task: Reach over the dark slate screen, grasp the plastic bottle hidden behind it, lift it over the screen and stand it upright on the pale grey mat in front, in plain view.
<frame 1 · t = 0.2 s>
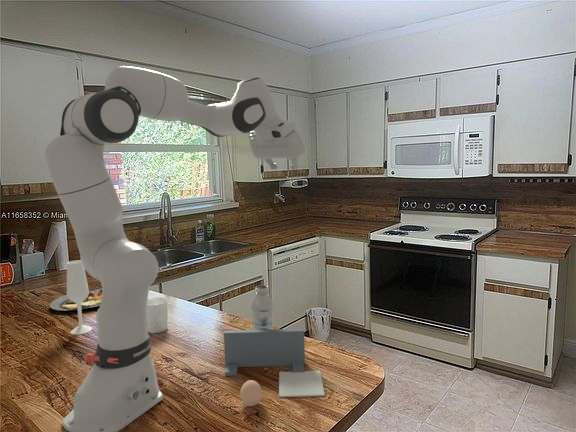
hand: (284, 168, 131), 54 cm above the worktop, tool tilted 30°, fingers open, 8 cm apart
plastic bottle: (263, 352, 121), on the worktop
slate screen: (265, 364, 113), on the worktop
white cup: (157, 329, 139), on the worktop
grey mat: (300, 384, 103), on the worktop
champagne flute: (81, 330, 139), on the worktop
egg: (251, 405, 95), on the worktop
food plate: (86, 303, 166), on the worktop
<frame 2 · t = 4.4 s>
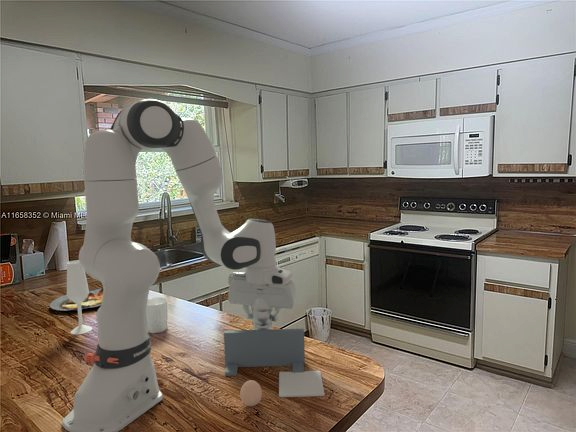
hand: (262, 319, 119), 10 cm above the worktop, tool pointing down, fingers closed on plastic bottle, 6 cm apart
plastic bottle: (263, 352, 121), on the worktop, touching gripper
everything else where it was.
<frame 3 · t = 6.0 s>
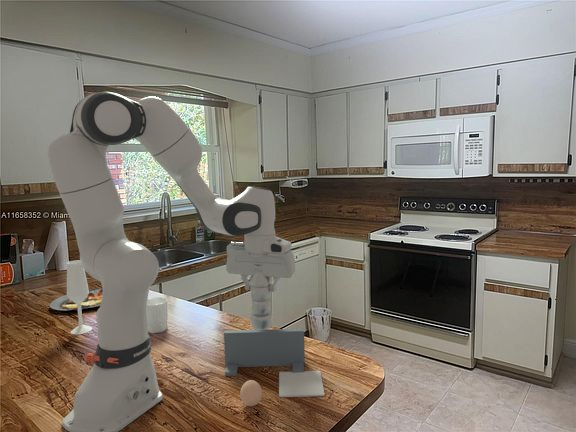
hand: (260, 290, 118), 19 cm above the worktop, tool pointing down, fingers closed on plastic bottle, 6 cm apart
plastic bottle: (261, 328, 120), point 7 cm above the worktop, touching gripper
everything else where it was.
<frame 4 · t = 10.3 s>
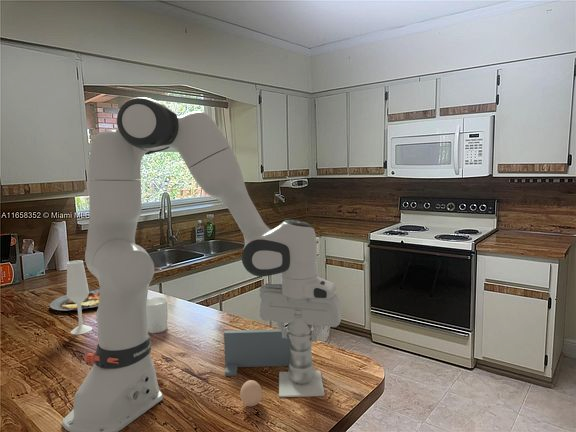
hand: (300, 339, 101), 12 cm above the worktop, tool pointing down, fingers closed on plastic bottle, 6 cm apart
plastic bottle: (301, 380, 104), resting on grey mat, touching gripper
everything else where it was.
when the fingers open (12 cm above the worktop, at t = 10.8 s): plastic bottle stays where it is, resting on grey mat.
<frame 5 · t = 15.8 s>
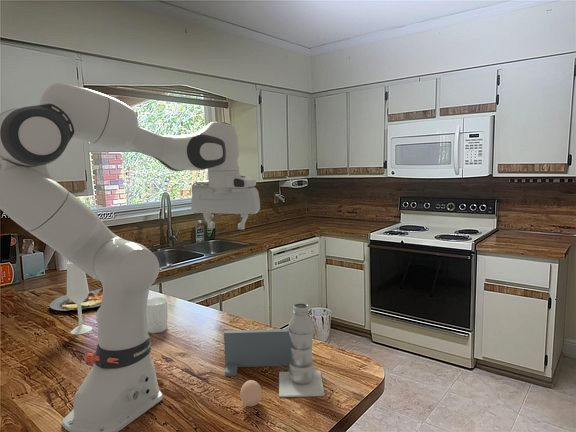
hand: (226, 228, 117), 37 cm above the worktop, tool pointing down, fingers open, 8 cm apart
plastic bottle: (301, 381, 104), resting on grey mat
everything else where it was.
at the end: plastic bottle inside the target area on the grey mat (1.0 cm from its centre), point 0.2 cm above the grey mat's base; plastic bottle tilted 0°; the gripper is holding nothing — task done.
